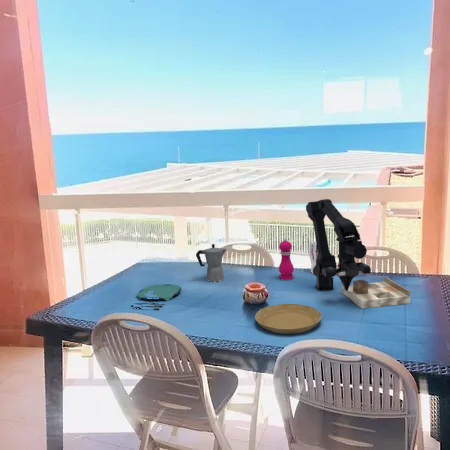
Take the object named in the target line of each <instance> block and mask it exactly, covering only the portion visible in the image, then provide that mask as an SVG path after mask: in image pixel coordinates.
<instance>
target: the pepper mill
mask: <svg viewBox="0 0 450 450" xmlns="http://www.w3.org/2000/svg"><path fill="white" fill-rule="evenodd" d="M292 247H293V246H292V243H291V242H290V241H288V238H286V237H284V238H283V241H281V242H280V243H279V245H278V249H279V250H280V255H281V259H280V263H279V266H278V272H279V273H280V274H279V279H280V278H281V279H280V280H282V279H284V281H289V280H290V281H291V280H292V278H294V275H293V273H294V271H295V270H294V264H293V262H292V261H291V254H292V253H291V252H292V251H291V250H292Z"/></svg>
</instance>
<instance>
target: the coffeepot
mask: <svg viewBox="0 0 450 450" xmlns="http://www.w3.org/2000/svg"><path fill="white" fill-rule="evenodd" d="M215 246H216V244H215V243H212V244H211V247H210V248H207V249H199V250H198V251H197V252H196V254H195V256H196V259H197V260H198V263H199V265H200V267H205V265H206V264H207V268H206V279H207V280H209V281H219V280H222V281H224V280H225V274H224V270H223V266H222V262H223V257H224V255H225V253H226V251H227V248H221V247H215ZM200 255H204V256H205V261H206V264H203V261H202V258H201V256H200ZM206 279H205V280H206ZM223 279H224V280H223ZM207 280H206V281H207ZM209 281H208V282H209ZM219 282H220V281H219Z"/></svg>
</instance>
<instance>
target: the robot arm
mask: <svg viewBox="0 0 450 450" xmlns="http://www.w3.org/2000/svg"><path fill="white" fill-rule="evenodd" d="M332 202H333V201H332V200H331V199H329V198H324V199H319V200H316V201H309V202H307V204H306V205H305V211H306V212H307V217H308V218H309V219H310V221H311V222H312V225H313V230H314V236H315V242H316V243H317V249H318V256H317V259H316V266H315V267H314V269H313V273H312V274H313V275H314V276H315V277H316V284H315V288H316V289H317V290H319V291H328V290H329V291H330V290H334V289H335V288H334V278H333V277H335V276H337V277H338V278H339V280H340V282H341V285H342V286H343V287H344V289H345V291H348V289H349V286H350V285H351V283H352V282H353V279H354V278H356V277H357V276H359V274H360V273H362V274H364V275H366V274H371V273H372V269H371V268H372V267H370V265H368V264H366V263H364V262H362V261H360V262H356V259H358V260H360V259H363V258H364V257H366V255H367V252H368V249H367V248H366V245H365V244H363V241H362V240H361V235H360V233H359V230H358V228H357V226H356V225H355V223H354V222H353V221H352V220H351V219H349V218H346V217H344V216H343V214H342V213H341V212H340V211H339V210H338V209H337V208H336V206H335V205H334V204H333V203H332ZM326 217H327V218H328V220H330V222H331V223H332V226H333V231H334V233H335V234H336V236H337V238H336V239H335V241H337V242H338V254H337V258H338V263H337V261H336V256H335V254H332V253H331V252H330V247H329V241H328V237H327V231H326V225H325V218H326ZM355 258H356V259H355Z"/></svg>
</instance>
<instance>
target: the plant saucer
mask: <svg viewBox="0 0 450 450" xmlns="http://www.w3.org/2000/svg"><path fill="white" fill-rule="evenodd" d="M254 317H255V320H256V322H257V324H259V326H261V327H262V328H263V329H265V330H267V331H268V332H272V333H276V334H283V335H292V334H293V335H294V334H301V333H304V332H308V331H310V330H312V329H314V328H315V327H316V326H318V325H319V323H320V322H321V320H322V317H323V315H322V312H321V311H320V310H319V309H318V308H315V307H313V306H310V305H307V304H302V303H301V304H300V303H279V304H273V305H272V304H271V305H268V306H265V307H263V308H261V309H260V310H258V311H257V312H256V313H255V316H254Z"/></svg>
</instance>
